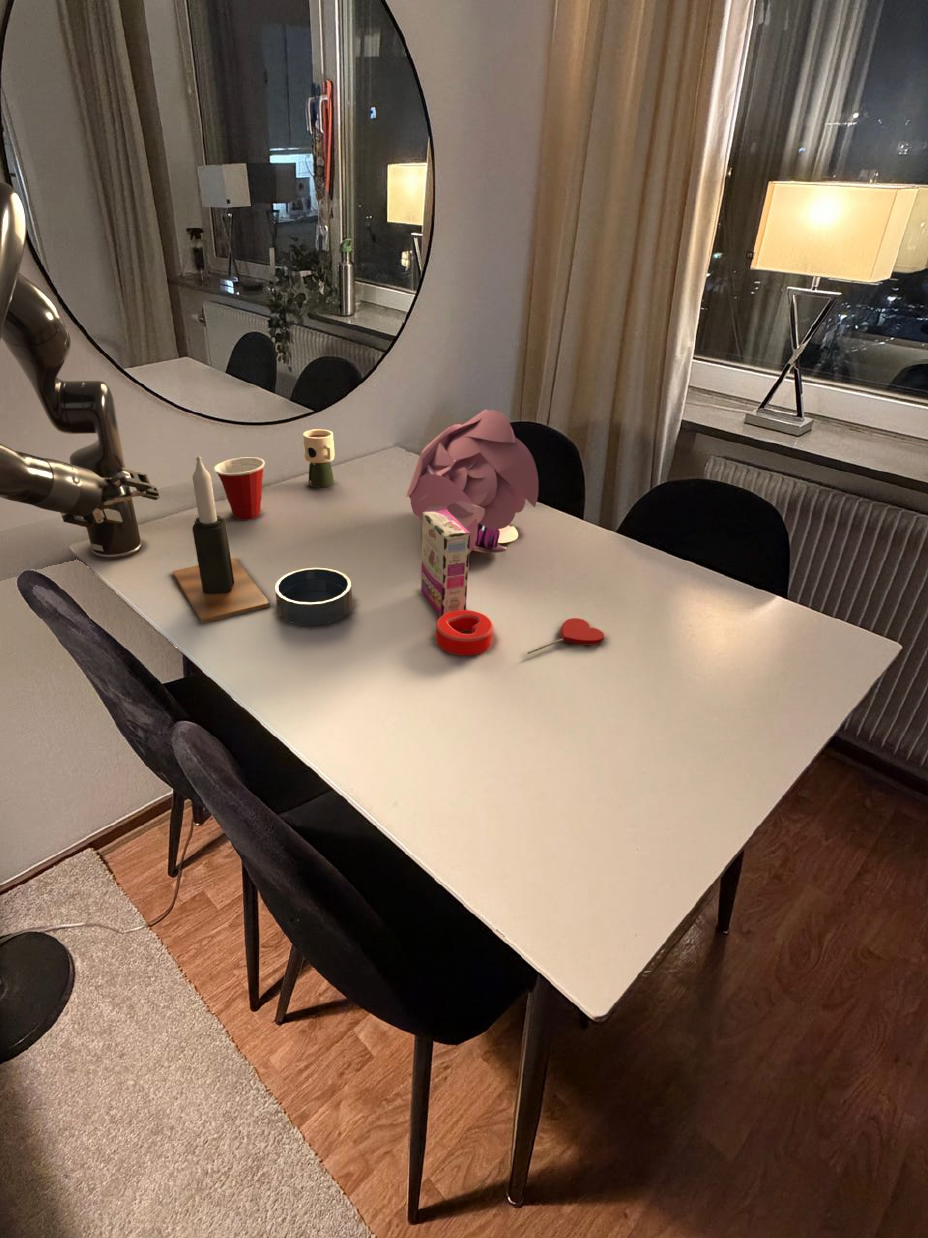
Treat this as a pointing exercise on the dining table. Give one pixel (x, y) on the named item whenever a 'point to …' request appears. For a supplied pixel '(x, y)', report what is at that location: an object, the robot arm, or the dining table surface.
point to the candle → (210, 537)
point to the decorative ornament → (464, 643)
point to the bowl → (313, 596)
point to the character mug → (319, 456)
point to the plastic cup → (242, 485)
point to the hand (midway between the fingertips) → (137, 506)
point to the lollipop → (577, 633)
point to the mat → (221, 594)
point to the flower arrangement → (477, 479)
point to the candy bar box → (444, 561)
